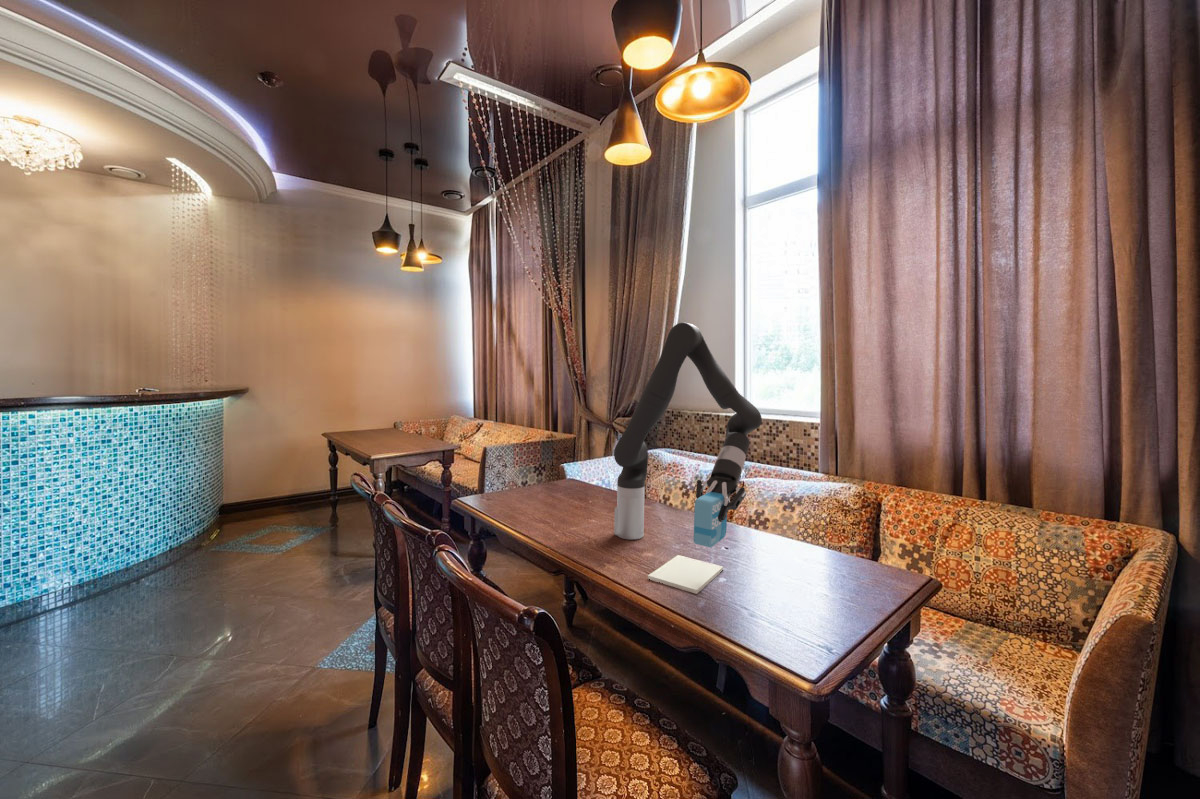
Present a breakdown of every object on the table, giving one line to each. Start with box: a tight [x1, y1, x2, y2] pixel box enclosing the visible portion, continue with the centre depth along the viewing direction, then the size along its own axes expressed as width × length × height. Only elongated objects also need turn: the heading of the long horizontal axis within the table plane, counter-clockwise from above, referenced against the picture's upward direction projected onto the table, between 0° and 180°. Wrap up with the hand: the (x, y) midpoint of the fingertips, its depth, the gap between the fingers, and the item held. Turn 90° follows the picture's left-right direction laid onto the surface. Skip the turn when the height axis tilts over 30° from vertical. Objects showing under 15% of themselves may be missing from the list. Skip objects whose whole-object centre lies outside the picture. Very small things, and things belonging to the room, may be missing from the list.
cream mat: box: [647, 554, 724, 595], centre depth 127 cm, size 14×18×1 cm
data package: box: [693, 492, 728, 548], centre depth 122 cm, size 12×4×12 cm, turn 145°
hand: (710, 517), depth 122 cm, fingers closed on data package, 4 cm apart
